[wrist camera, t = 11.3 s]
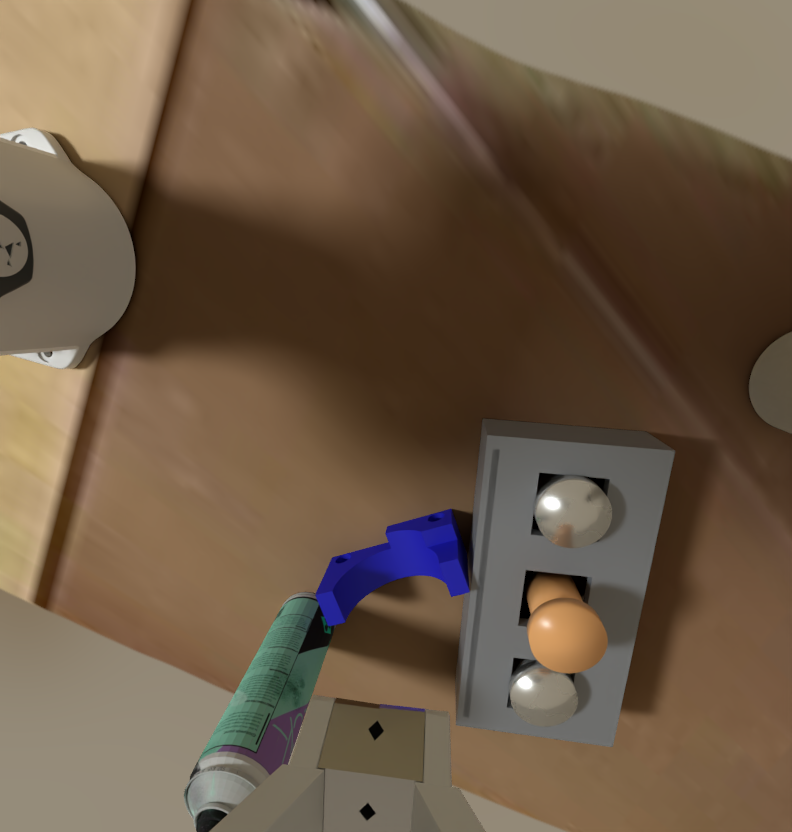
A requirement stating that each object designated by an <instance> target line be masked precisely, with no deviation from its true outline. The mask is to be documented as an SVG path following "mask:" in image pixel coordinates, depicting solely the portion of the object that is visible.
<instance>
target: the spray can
mask: <svg viewBox="0 0 792 832" xmlns="http://www.w3.org/2000/svg"><path fill="white" fill-rule="evenodd" d="M315 595H316V594H314V593H309V592H301V593H297V594H294V595H292V596H291V597H289V598H288V599H287V600H286V601H285V603H284V604H283V606H282V608H281V610H280V611H279V613H278V615H277V617H276V619H275V621H274V622H273V624H272V626H271V628H270V630H269V632H268V633H267V635H266V637H265V639H264V641H263V643H262V644H261V646H260V648H259V650H258V652H257V654H256V656H255V657H254V659H253V661H252V663H251V665H250V667H249V668H248V670H247V672H246V674H245V676H244V678H243V679H242V681H241V683H240V685H239V687H238V689H237V690H236V692H235V694H234V696H233V698H232V700H231V702H230V703H229V705H228V707H227V709H226V711H225V713H224V715H223V716H222V718H221V720H220V722H219V724H218V726H217V727H216V729H215V731H214V733H213V735H212V737H211V738H210V740H209V742H208V744H207V746H206V748H205V749H204V751H203V753H202V755H201V757H200V759H199V760H198V762H197V764H196V766H195V768H194V770H193V772H192V774H191V776H190V781H189V782H188V784H187V787H186V789H185V794H184V801H185V805H186V808H187V810H188V812H189V814H190V816H191V817H192V818H193V819H194V825H195V828H196V831H197V832H209V831H210V830H211V829H212V828H214V827H215V826H216V825H217V824H218V823H219V822H220V821H221V820H222V819H223V818H224V817H226V816H227V815H228V814H229V813H230V812H231V811H232V810H233V809H234V808H235V807H236V806H238V805H239V804H240V803H241V802H242V801H243V800H244V799H245V798H246V797H247V796H248V795H249V794H251V793H252V792H253V791H254V790H255V789H256V788H257V787H258V786H259V785H260V784H261V783H263V782H264V781H265V780H266V779H267V778H268V777H269V776H270V775H271V774H272V773H273V772H275V771H276V770H277V769H278V768H279V767H280V766H281V765H282V764H286V765H288V762H289V759H290V756H291V753H292V750H293V747H294V745H295V742H296V739H297V736H298V733H299V730H300V727H301V725H302V722H303V719H304V716H305V713H306V710H307V707H308V704H309V701H310V699H311V696H312V693H313V690H314V687H315V684H316V681H317V678H318V676H319V673H320V670H321V667H322V664H323V661H324V658H325V655H326V652H327V650H328V647H329V644H330V641H331V638H332V635H333V632H334V629H335V625H333V626H328V624H327V622H326V619H325V617H324V615H323V612H322V610H321V608H320V605H319V603H318V601H317V598H316V596H315Z"/></svg>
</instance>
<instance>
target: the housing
mask: <svg viewBox="0 0 792 832" xmlns="http://www.w3.org/2000/svg"><path fill="white" fill-rule="evenodd" d="M674 454H675V450H673V449H672V448H670V447H669V446H667V445H666V444H664V443H663V442H661V441H660V440H658V439H657V438H655V437H654V436H652V435H651V434H649V433H648V432H645V431H632V430H620V429H608V428H595V427H583V426H570V425H558V424H545V423H533V422H521V421H508V420H496V419H483V420H482V430H481V439H480V449H479V458H478V468H477V477H476V487H475V497H474V506H473V516H472V525H471V535H470V544H469V554H468V574H469V588H470V592H469V593H465V594H464V602H463V611H462V621H461V630H460V640H459V650H458V659H457V669H456V678H455V690H456V725H458V726H466V727H473V728H480V729H487V730H494V731H501V732H508V733H516V734H523V735H530V736H537V737H544V738H551V739H559V740H566V741H573V742H580V743H587V744H594V745H601V746H609V747H613V743H614V738H615V734H616V729H617V724H618V719H619V715H620V710H621V705H622V700H623V696H624V691H625V686H626V682H627V677H628V672H629V667H630V663H631V658H632V653H633V648H634V644H635V639H636V634H637V629H638V625H639V620H640V615H641V611H642V606H643V601H644V596H645V592H646V587H647V582H648V577H649V573H650V568H651V563H652V558H653V554H654V549H655V544H656V540H657V535H658V530H659V525H660V521H661V516H662V511H663V506H664V502H665V497H666V492H667V488H668V483H669V478H670V473H671V469H672V464H673V459H674ZM539 473H549V474H560V475H579V476H583V477H594V478H605V481H604V486H603V492H604V493H605V495H606V496H607V497H608V499H609V501H610V504H611V507H612V520H611V523H610V526H609V528H608V530H607V531H606V533H605V534H604V535H603V536H602V537H601V538H600V539H599V540H597V541H596V542H594V543H593V544H590V545H588V546H585V547H581V548H565V547H561V546H558V545H556V544H554V543H552V542H550V541H549V540H548V539H547V538H546V537H545V536H544V535H543V534H542V533H541V531H540V530H538V529H532V522H533V514H534V509H533V508H534V501H535V498H536V493H537V486H538V478H539ZM526 570H530V571H539V572H549V573H558V574H567V575H576V576H585V577H588V578H587V583H586V589H585V595H584V600H583V602H584V603H586V604H588V605H589V606H591V607H592V608H593V609H594V610H595V611H596V613H597V614H598V616H599V618H600V620H601V622H602V624H603V626H604V628H605V630H606V633H607V637H608V644H607V649H606V652H605V654H604V656H603V657H602V659H601V660H600V661H599V662H598V663H597V664H596V665H594V666H593V667H591V668H589V669H587V670H585V671H582V672H578V673H571V674H570V676H571V678H572V680H573V683H574V686H575V689H576V692H577V696H578V705H577V708H576V710H575V712H574V714H573V715H572V716H571V717H570V718H569V719H568V720H566V721H565V722H563V723H561V724H558V725H555V726H549V727H543V726H536V725H532V724H530V723H527V722H526V721H524V720H522V719H521V718H520V717H519V716H518V715H517V714H516V713H515V711H514V710H513V707H512V705H511V700H510V693H509V681H510V678H511V673H512V665H513V658H522V659H530V660H537V659H536V658H535V657H534V655H533V653H532V651H531V648H530V643H529V639H528V635H527V623H528V620H529V619H524V618H519V615H520V608H521V601H522V594H523V586H524V579H525V572H526Z"/></svg>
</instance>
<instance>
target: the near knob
mask: <svg viewBox="0 0 792 832" xmlns="http://www.w3.org/2000/svg"><path fill="white" fill-rule="evenodd" d="M533 509H534V516H535V519H536V522H537V524H538V527H539V529H540V531H541V533H542V534H543V535H544V536H545V537H546V538H547V539H548V540H549V541H550V542H552V543H554V544H556V545H558V546H561V547H565V548H581V547H585V546H588V545H590V544H593V543H594V542H596V541H597V540H599V539H600V538H601V537H602V536H603V535H604V534H605V533H606V531H607V530H608V528H609V526H610V523H611V520H612V507H611V504H610V501H609V499H608V497H607V496H606V495H605V493H604V492H603V491H602V490H601V488H600V487H599V486H598V485H597V484H596V483H595V482H593V481H592V480H590V479H588V478H586V477H583V476H579V475H560V474H549V473H539V478H538V486H537V493H536V498H535V501H534V508H533Z"/></svg>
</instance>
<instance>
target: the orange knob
mask: <svg viewBox="0 0 792 832" xmlns="http://www.w3.org/2000/svg"><path fill="white" fill-rule="evenodd" d="M525 594H526V598H527V602H528V606H529V609H530V613H531V616H530V617H529V620H528V623H527V635H528V639H529V643H530V648H531V651H532V653H533V655H534V657H535V658H536V659H537V660H538V661H539V662H540V663H541V664H542V665H543V666H545V667H546V668H548V669H550V670H553V671H556V672H560V673H578V672H582V671H585V670H587V669H589V668H591V667H593V666H594V665H596V664H597V663H598V662H599V661H600V660H601V659H602V657H603V656H604V654H605V652H606V649H607V644H608V637H607V633H606V630H605V628H604V626H603V624H602V622H601V620H600V618H599V616H598V614H597V613H596V611H595V610H594V609H593V608H592V607H591V606H589V605H588V604H586V603H584V602H583V601H582V598H581V596H580V594H579V592H578V589H577V587H576V585H575V583H574V581H573V579H572V578H571V576H570V575H567V574H558V573H549V572H539V571H536V572H535V573H533V574H532V575H531V576H530V577H529V579H528V580H527V582H526V585H525Z"/></svg>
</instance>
